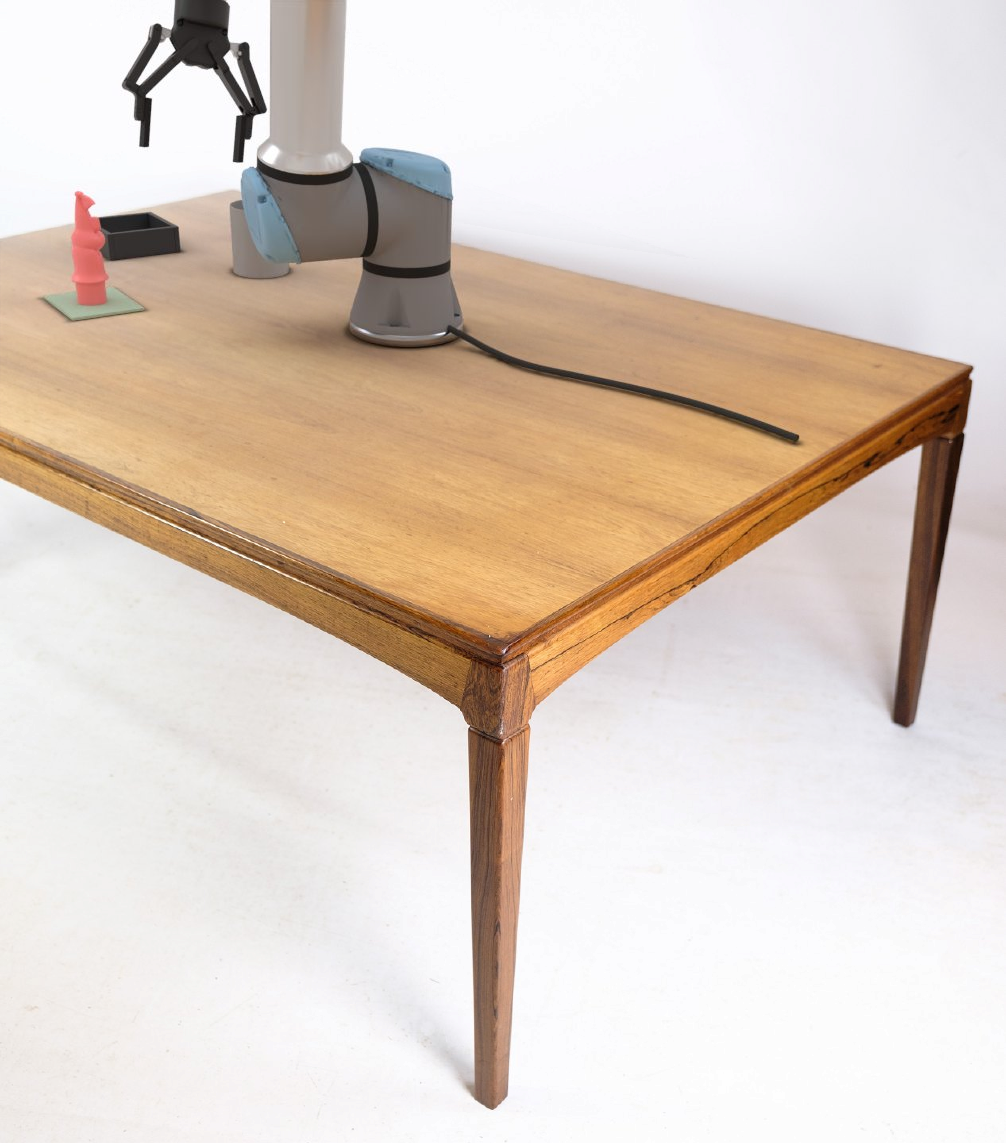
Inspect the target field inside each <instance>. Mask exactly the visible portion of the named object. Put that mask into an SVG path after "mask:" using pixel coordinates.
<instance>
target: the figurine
mask: <svg viewBox="0 0 1006 1143" xmlns="http://www.w3.org/2000/svg"><path fill="white" fill-rule="evenodd" d="M74 196H75V202H74V227H75V228H74V230H73V232H72V233H71V236H70V241H71V242H70V243H71V244H72V247H71V257H72V261H73V268H74V269H73V270H74V271H73V274H72V276H71V278H70V279H71V281H72V282H74V284H75V291H76V292H77V300H78V303H79V304H81V305H100V304H104V303H106V302H107V295H106V287H107V286H106V281H108V280H109V275H108V273H107V271H106V268H105V262H104V256H103V255H102V254H101V252H100V251H99V250H100V249H101V248H102V247H103V245H104V244H105V236H104V235H103V233H102V232H100V230H101V226H100V221H99V218H98V217H99V216H92V215H91V212H90V211H89V210H90V208H92V207H93V206H94V205H96V202H95V200H93V198H91V197H90V196H88V195H86V194H84V192H83V191H81V190H76V191H74Z"/></svg>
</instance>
